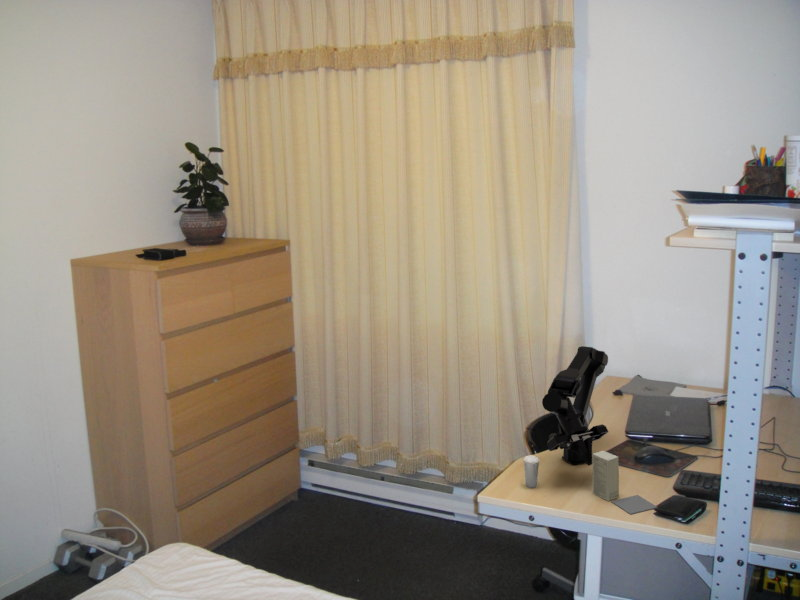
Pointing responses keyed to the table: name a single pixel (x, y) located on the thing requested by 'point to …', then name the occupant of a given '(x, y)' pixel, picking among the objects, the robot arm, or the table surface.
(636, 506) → the felt pad
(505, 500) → the table surface
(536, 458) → the milkshake
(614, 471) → the skincare box
